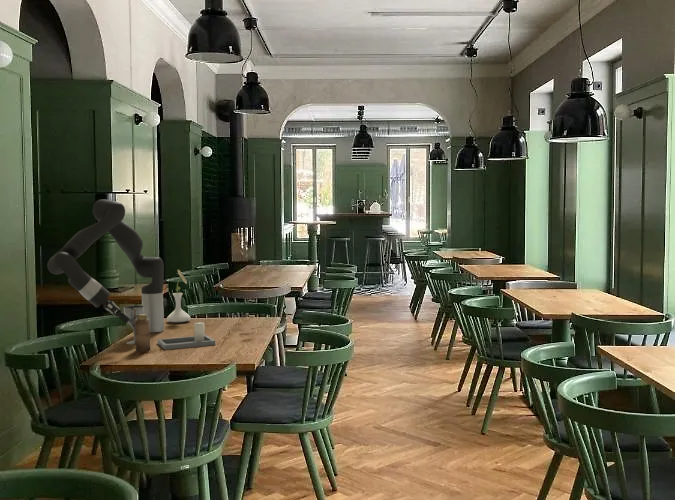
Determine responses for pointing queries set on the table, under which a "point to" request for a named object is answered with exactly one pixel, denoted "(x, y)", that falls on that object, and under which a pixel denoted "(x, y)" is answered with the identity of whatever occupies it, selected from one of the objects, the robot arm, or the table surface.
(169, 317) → the flower in vase
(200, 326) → the salt shaker
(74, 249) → the robot arm
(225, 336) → the table surface
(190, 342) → the condiment tray
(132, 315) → the wine glass
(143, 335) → the brown bottle
